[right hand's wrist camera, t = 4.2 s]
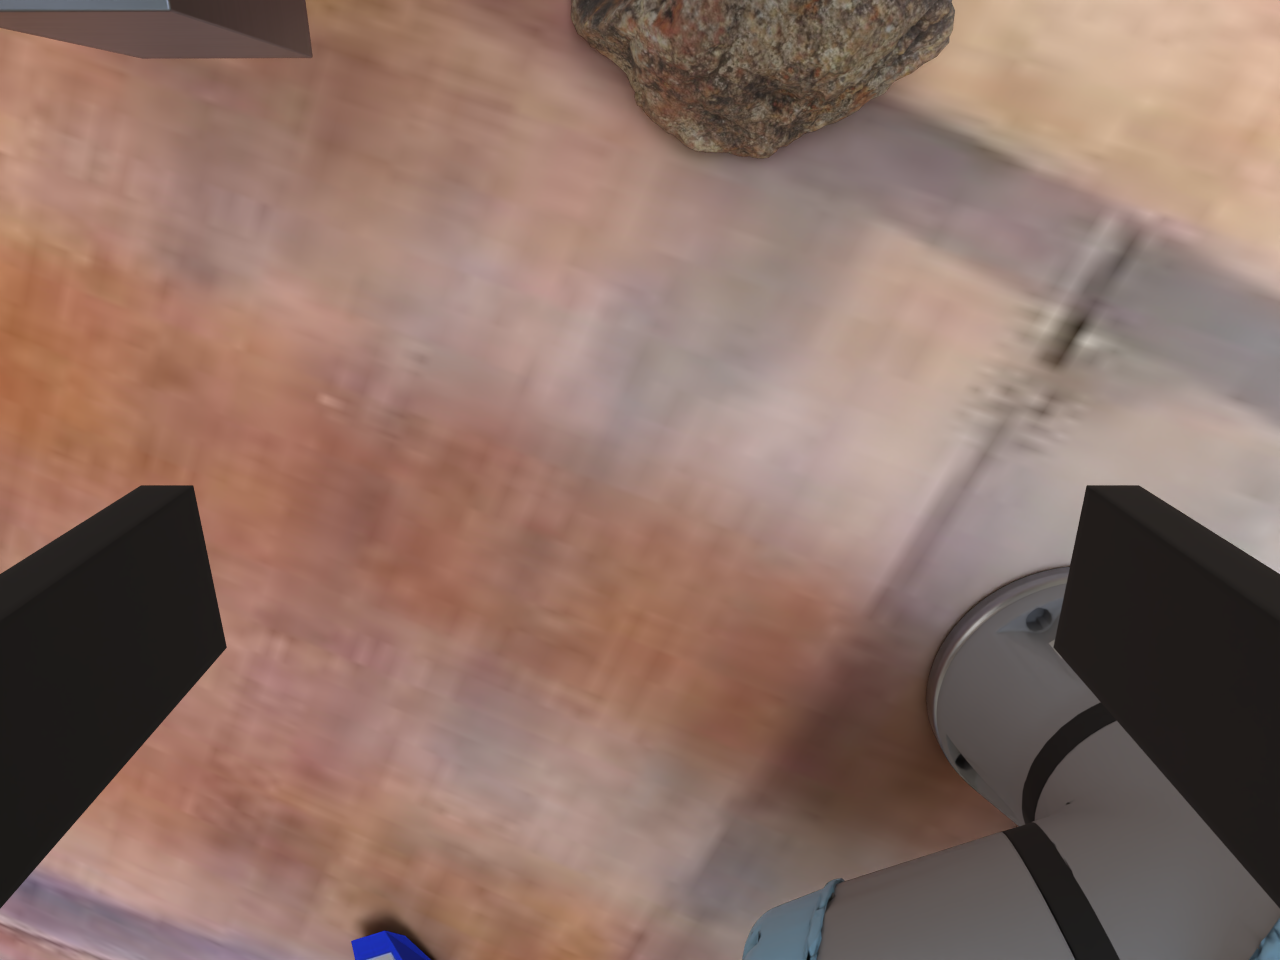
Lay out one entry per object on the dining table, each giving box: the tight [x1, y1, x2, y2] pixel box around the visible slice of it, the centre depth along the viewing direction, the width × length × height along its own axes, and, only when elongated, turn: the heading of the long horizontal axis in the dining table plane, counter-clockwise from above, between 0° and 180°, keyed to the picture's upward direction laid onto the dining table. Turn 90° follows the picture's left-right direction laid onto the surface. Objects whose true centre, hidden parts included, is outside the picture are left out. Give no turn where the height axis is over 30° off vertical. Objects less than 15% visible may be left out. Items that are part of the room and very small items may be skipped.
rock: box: [571, 0, 955, 158], centre depth 32 cm, size 14×9×10 cm
